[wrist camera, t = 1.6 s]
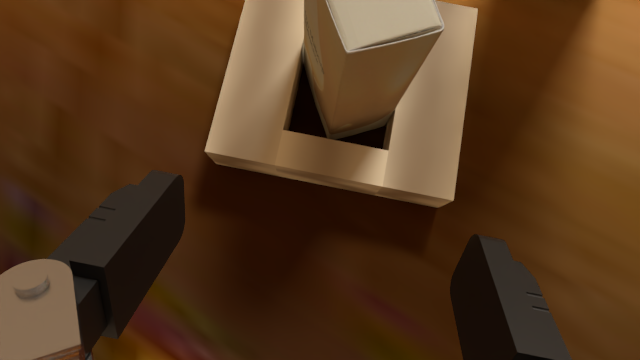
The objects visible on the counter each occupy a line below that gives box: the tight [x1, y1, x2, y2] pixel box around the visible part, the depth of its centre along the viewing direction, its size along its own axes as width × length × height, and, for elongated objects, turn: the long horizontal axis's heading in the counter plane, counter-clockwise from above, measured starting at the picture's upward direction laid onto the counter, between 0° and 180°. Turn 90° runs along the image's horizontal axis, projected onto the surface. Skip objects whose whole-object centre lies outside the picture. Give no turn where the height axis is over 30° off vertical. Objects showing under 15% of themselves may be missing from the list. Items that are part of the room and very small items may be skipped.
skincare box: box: [304, 0, 444, 140], centre depth 22 cm, size 6×4×12 cm
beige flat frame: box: [205, 0, 478, 208], centre depth 27 cm, size 15×13×3 cm
